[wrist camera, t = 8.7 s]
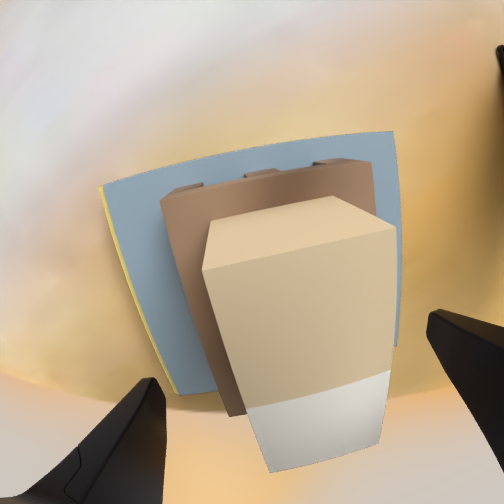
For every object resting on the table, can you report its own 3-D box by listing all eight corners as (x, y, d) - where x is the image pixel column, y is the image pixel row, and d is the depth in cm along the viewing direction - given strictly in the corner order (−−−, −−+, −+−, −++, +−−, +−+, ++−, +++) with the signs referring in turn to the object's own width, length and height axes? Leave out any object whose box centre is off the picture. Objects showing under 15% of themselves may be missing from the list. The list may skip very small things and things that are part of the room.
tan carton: (332, 195, 9) (396, 227, 6) (343, 301, 11) (390, 369, 7) (210, 220, 9) (201, 270, 6) (237, 326, 11) (245, 408, 7)
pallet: (339, 158, 12) (371, 161, 9) (352, 347, 15) (373, 382, 13) (174, 188, 12) (159, 200, 9) (227, 375, 15) (229, 417, 12)
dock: (365, 132, 15) (393, 131, 12) (376, 321, 19) (396, 346, 16) (119, 179, 14) (96, 187, 11) (179, 364, 18) (174, 396, 16)
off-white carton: (343, 301, 11) (390, 369, 7) (345, 376, 12) (378, 443, 8) (237, 327, 11) (245, 409, 7) (258, 398, 12) (270, 473, 8)
